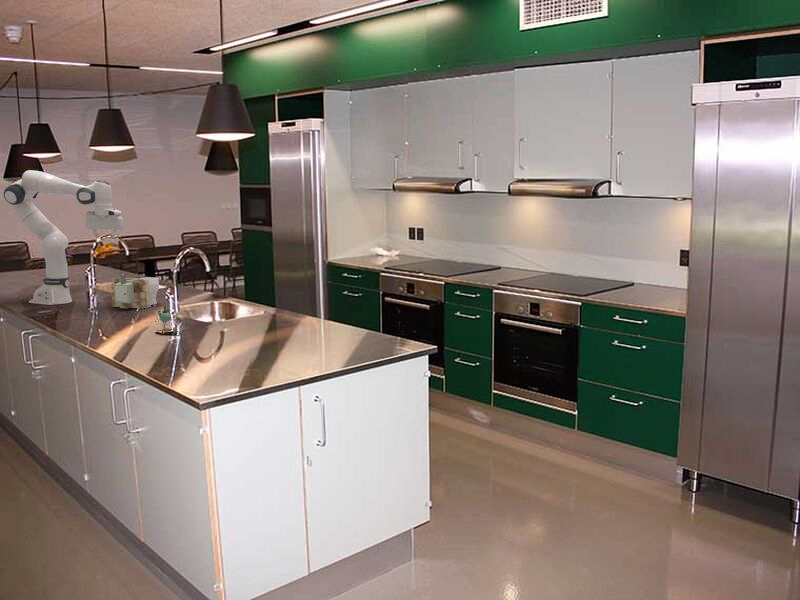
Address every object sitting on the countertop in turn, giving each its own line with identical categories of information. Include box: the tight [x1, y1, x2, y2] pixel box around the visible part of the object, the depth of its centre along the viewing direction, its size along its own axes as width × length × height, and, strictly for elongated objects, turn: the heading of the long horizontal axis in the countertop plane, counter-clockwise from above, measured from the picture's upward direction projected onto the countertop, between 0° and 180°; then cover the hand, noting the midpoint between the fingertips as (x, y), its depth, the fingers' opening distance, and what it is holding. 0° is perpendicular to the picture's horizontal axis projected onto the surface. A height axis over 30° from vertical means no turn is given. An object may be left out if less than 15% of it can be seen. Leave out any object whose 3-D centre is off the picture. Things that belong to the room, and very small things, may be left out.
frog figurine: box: [154, 304, 179, 333], centre depth 357 cm, size 10×18×15 cm, turn 41°
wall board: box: [111, 277, 152, 309], centre depth 416 cm, size 20×7×16 cm, turn 82°
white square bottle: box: [114, 273, 135, 303], centre depth 410 cm, size 8×9×15 cm
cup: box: [139, 276, 160, 305], centre depth 426 cm, size 11×11×15 cm
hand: (104, 237), depth 404 cm, fingers open, 8 cm apart
